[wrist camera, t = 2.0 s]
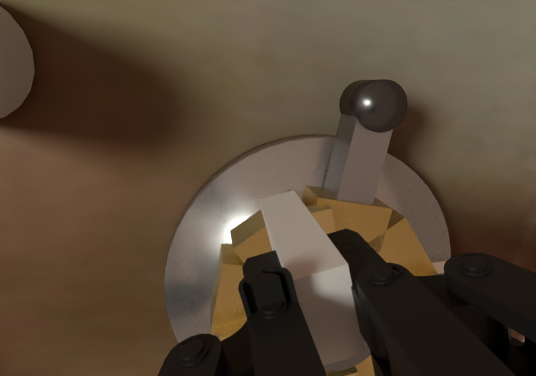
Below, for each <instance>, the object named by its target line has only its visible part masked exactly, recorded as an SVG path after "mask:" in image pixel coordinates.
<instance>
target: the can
mask: <svg viewBox="0 0 536 376" xmlns="http://www.w3.org/2000/svg"><path fill="white" fill-rule="evenodd" d="M34 73H35V70H34V61H33V52H32V49H31V47H30V45H29V42H28V40H27V38H26V36H25V33H24V31H23V30H22V29H21V27H20V26H19V25H18V24H17V22H16V21H15V20H14V19H13V18H12V16H11V15H10V14H9V13H8V12H7V11H6V10H4V9H3V8H2V7H0V118H3V117H6V116H7V115H9V114H10V113H11V112H13V111H14V110H16V109H17V108H18V107H20V106H21V104H22V103H23V101H24V100H25V98H26V97H27V95H28V94H29V92H30V91H31V86H32V82H33V77H34Z"/></svg>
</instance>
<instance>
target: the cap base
mask: <svg viewBox="0 0 536 376" xmlns="http://www.w3.org/2000/svg"><path fill="white" fill-rule="evenodd" d="M335 138H336V136H332V135H323V134H316V135H298V136H292V137H286V138H281V139H278V140H274V141H271V142H268V143H264V144H262V145H260V146H257V147H255V148H253V149H251V150H248V151H246V152H244V153H243V154H241V155H239V156H238V157H236V158H234V159H233V160H231V161H230V162H228V163H227V164H226V165H224V166H223V167H222V168H221V169H219V170H218V171H217V172H216V173H214V174H213V175H212V176H211V177H210V178H209V179H208V180H207V181H206V182H205V183H204V184H203V185H202V186H201V188H200V189H199V190H198V191H197V193H196V194H195V195H194V197H193V198H192V199H191V201H190V202H189V203H188V205H187V207H186V209H185V210H184V212H183V214H182V216H181V218H180V220H179V222H178V224H177V227H176V230H175V232H174V235H173V238H172V241H171V246H170V250H169V254H168V259H167V264H166V268H165V282H164V292H165V304H166V309H167V313H168V317H169V321H170V324H171V327H172V329H173V332H174V334H175V336H176V339H177V340H178V342H179V343H180V342H181V341H183V340H185V339H187V338H189V337H191V336H194V335H198V334H210V306H211V300H212V294H213V289H214V283H215V277H216V271H217V266H218V260H219V254H220V249H221V244H228V245H232V241H231V234H230V230H232V229H233V228H235V227H236V226H237V225H239V224H240V223H242V222H243V221H245V220H246V219H247V218H249V217H250V216H252V215H253V214H255V213H256V212H258V211H259V210H260V209H261V207H260V203H259V200H260V199H264V198H267V197H271V196H274V195H278V194H282V193H285V192H286V191H288V190H289V189H291V191H292V190H294V191H295V193H296V194H297V195H298V197H299V198H300V199H301V201H302V200H303V196H304V191H305V187H306V185H308V186H315V187H321V188H324V185H325V180H326V176H327V172H328V168H329V164H330V159H331V155H332V151H333V147H334V142H335ZM375 197H376V198H377V199H379V200H380V201H382V202H383V203H385V204H386V205H388V206H389V207H391V208H392V209H394V210H395V211H397V212H398V213H400V214H401V215H402V216H404V217H405V218H406V219H407V221H408V223H409V225H410V226H411V228H412V230H413V231H414V233H415V235H416V237H417V238H418V240H419V242H420V243H421V245H422V247H423V249H424V250H425V252H426V254H427V255H428V257H429V259H430V260H431V262H432V264H433V266H434V267H435V269H436V271H437V272H438V274H439V275H441V274H444V265H445V262H446V261H447V260H448V259H450V258H451V247H450V240H449V232H448V229H447V225H446V221H445V218H444V215H443V213H442V211H441V208H440V206H439V204H438V202H437V200H436V198H435V197H434V195H433V194H432V192H431V191H430V189H429V187H428V186H427V185H426V184H425V183H424V182H423V180H422V179H421V178H420V177H419V176H418V175H417V174H416V173H415V172H414V171H413V170H412V169H410V168H409V167H408V166H407V165H406V164H404V163H403V162H402V161H400V160H398V159H397V158H395V157H393V156H392V155H390V154H388V153H386V157H385V161H384V164H383V168H382V172H381V175H380V179H379V183H378V187H377V190H376V194H375ZM212 335H214V334H212ZM363 341H364V346H365V351H366V353H363V354H360V355H357V356H353V357H350V358H347V359H344V360H341V361H337V362H334V363H331V364H328V365H324V369H325V371H340V370H345V369H348V368H351V367H353V366H355V365H358V364H359V363H361V362H363V361H364V360H365V359H367V358H368V357H369V356H370V355H371V353H370V349H369V347H368V345H367V343H366V342H365V340H364V338H363Z"/></svg>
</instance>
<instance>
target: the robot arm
mask: <svg viewBox="0 0 536 376" xmlns="http://www.w3.org/2000/svg"><path fill="white" fill-rule="evenodd" d="M259 203H260V207H261V210H262V214H263V218H264V222H265V225H266V229H267V233H268V237H269V240H270V244H271V248H272V251H270V252H267V253H264V254H260V255H257V256H253V257H250V258H247V259H246V261H245V263H244V265H243V267H242V269H243V276H244V278H243V279H242V280H241V281H240V283H239V287H238V290H239V294H240V297H241V300H242V303H243V307H244V310H245V313H246V316H247V321H246V322H245V324H244V325H243V326H242V327H241V328H240V329H239V330H238V331H237V332H236V333H234V334H233V335H231V336H229V337H228V338H226V339H224V340H222V341H220V340H219V338H218V337H217V336H215V335H212V334H198V335H194V336H191V337H189V338H187V339H185V340H183V341H181V342H180V343H179V344H177V345H176V346H175V347H174V348H173V349H172V350H171V351H170V353H169V354H168V356H167V357H166V359H165V361H164V363H163V365H162V367H161V370H160V372H159V374H158V376H327V374H326V371H325V369H324V365H328V364H331V363H334V362H337V361H341V360H344V359H347V358H350V357H353V356H357V355H360V354H363V353H366V351H365V346H364V341H363V338H364V340H365V342H366V343H367V345H368V347H369V349H370V353H371V358H372V364H373V369H374V374H375V376H536V273H534V272H531V271H529V270H526V269H524V268H521V267H519V266H516V265H514V264H511V263H509V262H506V261H504V260H501V259H499V258H496V257H494V256H490V255H486V254H480V253H464V254H460V255H457V256H453V257H451V258H450V259H448V260H447V261H446V262H445V265H444V274H441V275H430V276H414V275H413V274H412V273H411V272H410V271H409V270H408V269H406V268H405V267H403V266H401V265H399V264H395V263H386V261H385V260H384V259H383V258H382V257H381V256H380V255H379V254H378V253H377V252H376V251H375V250H374V249H373V248H372V247H371V246H370V245H369V244H368V243H367V242H366V241H365V240H364V238H363V237H362V236H361V235H360V234H359V233H358V232H355V231H352V230H350V229H347V228H346V229H343V230H339V231H336V232H332V233H329V234H326V233H325V232H324V231H323V229H322V228H321V227H320V225H319V224H318V223H317V221H316V220H315V218H314V217H313V216H312V214H311V213H310V212H309V210H308V209H307V208H306V206H305V205H304V203H303V202H302V201H301V199H300V198H299V197H298V195H297V194H296V193H295V191H294V190H292V191H289V192H285V193H282V194H278V195H274V196H271V197H267V198H264V199H260V200H259ZM511 329H513V330H515V331H516V332H518V333H520V334H522V335H523V336H525V342H521V341H519V340H517V339H515V338H513V337H512V336H511Z"/></svg>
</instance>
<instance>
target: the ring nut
mask: <svg viewBox="0 0 536 376" xmlns="http://www.w3.org/2000/svg"><path fill="white" fill-rule="evenodd" d="M339 106H340V112H341V117H340V121H339V125H338V130H337V134H336V138H335V142H334V147H333V151H332V155H331V159H330V164H329V168H328V172H327V176H326V180H325V185H324V188H321V187H315V186H308V185H306V187H305V191H304V196H303V200H302V202H303V203H304V205H305V206H306V208H307V209H308V210H309V212H310V213H311V214H312V216H313V217H314V218H315V220H316V221H317V223H318V224H319V225H320V227H321V228H322V229H323V231H324V232H325V233H326V234H329V233H332V232H336V231H339V230H343V229H346V228H347V229H350V230H352V231H355V232H358V233H359V234H360V235H361V236H362V237H363V238H364V240H365V241H366V242H367V243H368V244H369V245H370V246H371V247H372V248H373V249H374V250H375V251H376V252H377V253H378V254H379V255H380V256H381V257H382V258H383V259H384V260H385V261H386V263H395V264H399V265H401V266H403V267H405V268H406V269H408V270H409V271H410V272H411V273H412V274H413V275H414V276H430V275H439V274H438V272H437V271H436V269H435V267H434V266H433V264H432V262H431V260H430V259H429V257H428V255H427V254H426V252H425V250H424V249H423V247H422V245H421V243H420V242H419V240H418V238H417V237H416V235H415V233H414V231H413V230H412V228H411V226H410V225H409V223H408V221H407V219H406V218H405V217H404V216H402V215H401V214H400V213H398V212H397V211H395V210H394V209H392V208H391V207H389V206H388V205H386V204H385V203H383V202H382V201H380V200H379V199H377V198H376V197H375V194H376V190H377V187H378V183H379V179H380V175H381V172H382V168H383V164H384V161H385V157H386V153H387V150H388V146H389V142H390V139H391V135H392V131H393V129H394V128H395V127H396V126H398V125H399V124H400V122H401V121H402V120H403V118H404V116H405V113H406V110H407V97H406V94H405V92H404V90H403V89H402V87H401V86H400V85H399V84H397V83H396V82H394V81H391V80H359V81H355V82H353V83H351V84H350V85H349V86H348V87H347V88H346V89H345V90H344V91H343V93H342V95H341V98H340V105H339ZM289 191H291V189H289V190H288V191H286V192H289ZM230 234H231V241H232V245H228V244H221V249H220V254H219V260H218V266H217V271H216V277H215V283H214V289H213V294H212V300H211V306H210V334H214V335H215V336H217V337H218V338H219V340H220V341H222V340H224V339H226V338H228V337H229V336H231V335H233V334H234V333H236V332H237V331H238V330H239V329H240V328H241V327H242V326H243V325H244V324H245V322H246V321H247V316H246V313H245V310H244V307H243V303H242V300H241V297H240V294H239V290H238V287H239V283H240V281H241V280H242V279H243V278H244V276H243V269H242V267H243V265H244V263H245V261H246V259H247V258H250V257H253V256H257V255H260V254H264V253H267V252H270V251H272V248H271V244H270V240H269V237H268V233H267V229H266V225H265V222H264V218H263V214H262V210H261V209H260V210H259V211H258V212H256V213H255V214H253V215H252V216H250V217H249V218H247V219H246V220H245V221H243V222H242V223H240V224H239V225H237V226H236V227H235V228H233V229H232V230H230ZM326 374H327V376H375V374H374V369H373V364H372V358H371V355H370V356H369V357H368V358H367V359H365V360H364V361H363V362H361V363H359V364H358V365H355V366H353V367H351V368H348V369H345V370H340V371H326Z"/></svg>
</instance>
